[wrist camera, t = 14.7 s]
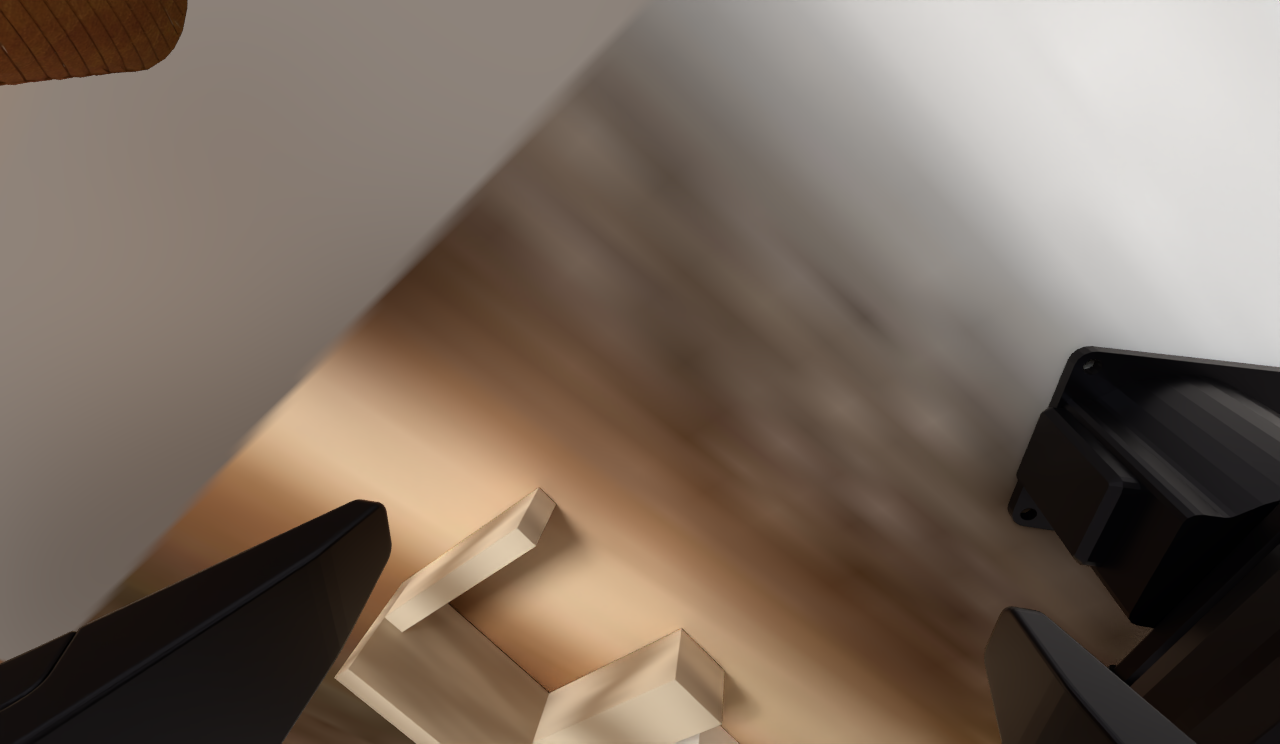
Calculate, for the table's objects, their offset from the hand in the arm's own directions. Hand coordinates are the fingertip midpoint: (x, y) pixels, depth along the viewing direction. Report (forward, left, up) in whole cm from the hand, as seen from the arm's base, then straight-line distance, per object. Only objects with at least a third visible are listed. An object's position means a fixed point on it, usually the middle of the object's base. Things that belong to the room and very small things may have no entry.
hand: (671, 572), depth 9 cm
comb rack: (+2, +19, -12) cm, 23 cm away
